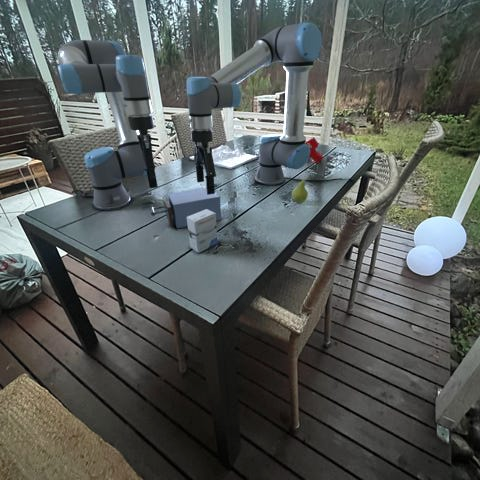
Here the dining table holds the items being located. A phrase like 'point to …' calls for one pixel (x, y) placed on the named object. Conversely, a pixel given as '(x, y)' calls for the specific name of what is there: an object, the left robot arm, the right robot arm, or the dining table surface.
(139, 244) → the dining table surface
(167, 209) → the drawer
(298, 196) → the fruit
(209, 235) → the ink box
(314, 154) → the toy gun
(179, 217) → the cabinet
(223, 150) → the relief map
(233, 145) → the dining table surface
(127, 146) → the left robot arm
